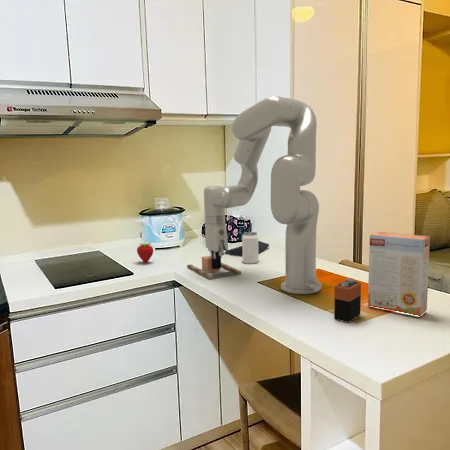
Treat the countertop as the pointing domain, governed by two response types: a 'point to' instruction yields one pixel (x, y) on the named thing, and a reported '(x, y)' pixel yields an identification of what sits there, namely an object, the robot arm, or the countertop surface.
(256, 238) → the can
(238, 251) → the dark slate chunk
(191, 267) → the channel
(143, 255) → the strawberry
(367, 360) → the countertop surface
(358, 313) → the battery
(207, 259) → the block
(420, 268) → the cracker box
